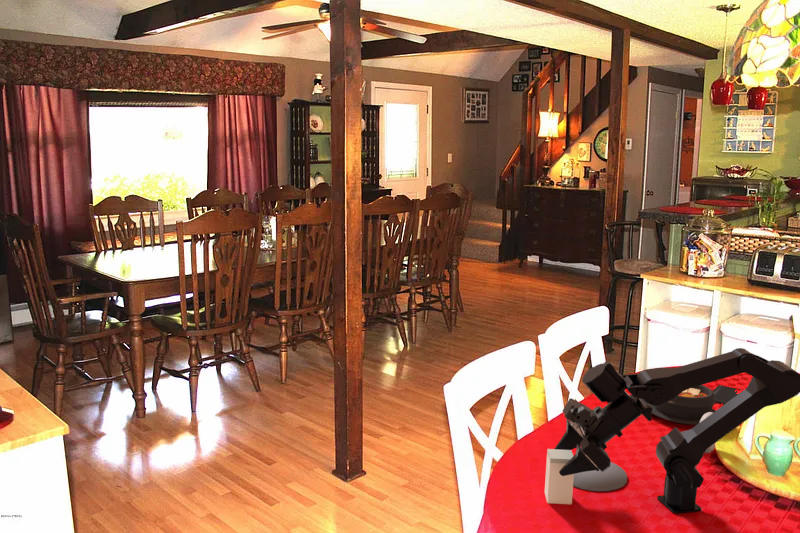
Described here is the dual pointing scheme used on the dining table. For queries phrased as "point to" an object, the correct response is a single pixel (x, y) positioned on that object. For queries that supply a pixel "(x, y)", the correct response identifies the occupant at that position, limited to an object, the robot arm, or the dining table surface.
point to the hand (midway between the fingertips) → (556, 463)
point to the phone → (724, 393)
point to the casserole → (687, 406)
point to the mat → (601, 479)
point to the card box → (558, 477)
